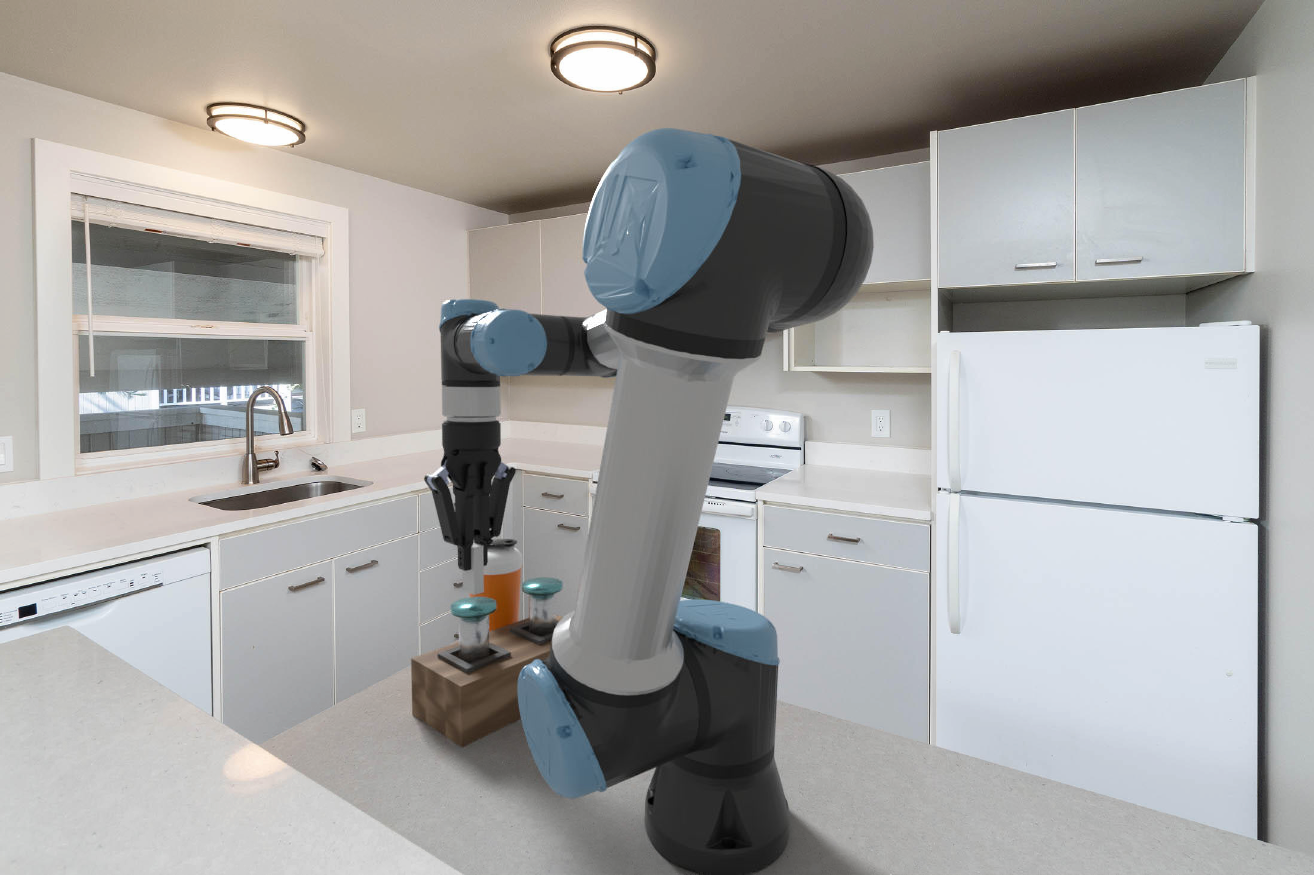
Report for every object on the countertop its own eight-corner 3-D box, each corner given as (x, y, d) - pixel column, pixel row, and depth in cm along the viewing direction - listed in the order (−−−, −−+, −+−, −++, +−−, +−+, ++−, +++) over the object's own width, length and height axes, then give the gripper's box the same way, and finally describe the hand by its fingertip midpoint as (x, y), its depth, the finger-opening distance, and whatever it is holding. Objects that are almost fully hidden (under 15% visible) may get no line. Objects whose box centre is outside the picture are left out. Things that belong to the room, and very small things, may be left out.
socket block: (598, 680, 99) (598, 626, 99) (461, 747, 81) (460, 681, 80) (547, 658, 107) (547, 607, 106) (412, 714, 89) (411, 654, 88)
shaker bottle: (516, 672, 102) (515, 548, 100) (460, 670, 102) (458, 547, 100) (528, 648, 111) (527, 534, 109) (476, 647, 111) (475, 533, 109)
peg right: (570, 640, 98) (570, 583, 98) (539, 652, 94) (539, 593, 93) (545, 629, 102) (545, 574, 101) (514, 641, 98) (513, 583, 97)
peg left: (505, 666, 89) (505, 603, 89) (468, 681, 85) (467, 615, 84) (480, 653, 93) (479, 593, 92) (443, 667, 89) (441, 604, 88)
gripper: (495, 415, 93) (496, 574, 95) (411, 419, 83) (414, 596, 86) (528, 418, 88) (528, 586, 91) (442, 422, 78) (445, 610, 81)
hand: (473, 590), depth 88 cm, fingers closed
